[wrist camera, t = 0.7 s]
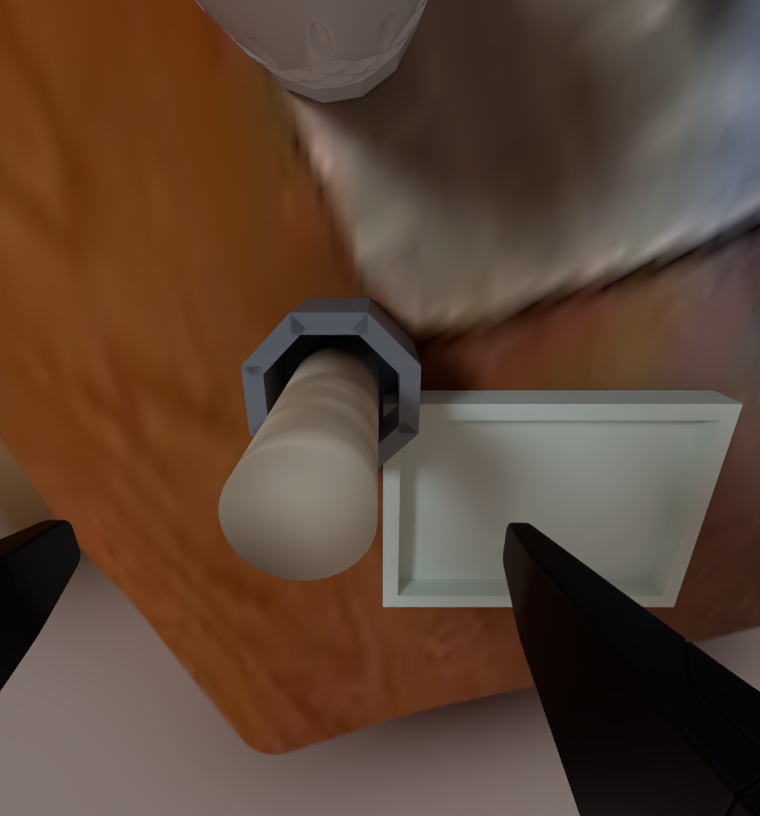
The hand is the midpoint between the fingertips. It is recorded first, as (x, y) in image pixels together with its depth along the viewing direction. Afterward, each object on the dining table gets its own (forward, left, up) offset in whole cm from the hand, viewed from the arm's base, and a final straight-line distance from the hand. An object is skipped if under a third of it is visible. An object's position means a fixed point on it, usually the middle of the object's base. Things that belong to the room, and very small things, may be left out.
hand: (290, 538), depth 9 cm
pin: (0, 0, -12) cm, 12 cm away
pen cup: (0, 0, -12) cm, 12 cm away
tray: (-10, +7, -12) cm, 17 cm away
